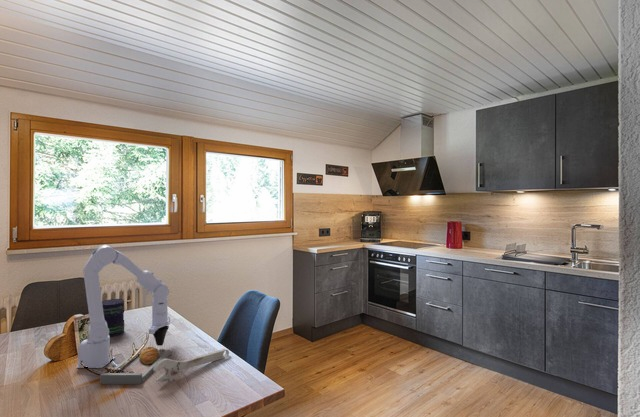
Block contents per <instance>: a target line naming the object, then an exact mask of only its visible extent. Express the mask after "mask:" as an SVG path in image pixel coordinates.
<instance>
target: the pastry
mask: <svg viewBox="0 0 640 417" xmlns="http://www.w3.org/2000/svg"><path fill="white" fill-rule="evenodd" d="M159 357H160V354H159V350H158V348H155V347H154V346H148V347H146V348H144V349H142V350H141V353H140V355H139V356H138V359H139V361H140V362H141V363H142V364H143V365H145V366H147V365H149V364H154V363H155V362H156V361H157V360H158V359H159Z"/></svg>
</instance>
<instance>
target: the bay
mask: <svg viewBox="0 0 640 417" xmlns="http://www.w3.org/2000/svg"><path fill="white" fill-rule="evenodd" d="M140 353H141V352H140ZM171 355H172V350H171V349H169V350H168V349H167V350H166V352H164V353H163V354H162V355H161V356H159V357H158V359H157V360H156V362H155V363H152V365H150V367H148V368H147V369H146V370H145V371H143V373H142V372H139V373H138V372H128V373H127V372H118V373H110V371H109V372H102V373H101V374H100V375H99V376H100V377H99V384H100V385H141V384H142V383H143V382H144V381H145V380H146V379H147V378H148V377H149V376H151V374H152V373H153V372H155V371H154V370H153V368H154V366H155V364H156V363H157V362H158V361H160V360H161V359H164V358H167V359H168V358H169V357H170V356H171ZM131 356H132V354H131V355H129V356H128V357H127V358H125V359H124V360H123V361H122V362H120V363H119V364H118V365H116V366H115V367H114V368H116V369H118V368H120V366H121V365H122V364H124V363H125V362H126V361H127V360H128V359H129V358H130V357H131ZM139 356H140V354H139Z"/></svg>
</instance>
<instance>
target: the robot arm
mask: <svg viewBox="0 0 640 417" xmlns="http://www.w3.org/2000/svg"><path fill="white" fill-rule="evenodd" d="M112 263H113V265H120V266H122V267H124V268H125V269H126V270H127V271H128V272H130V273H131V274H132V275H134V276H135V277H136V282H137V283H138V284H139V285H141V286H142V287H143V288H144V289H145V290H146V291H148V292H150V293H151V295H152V305H151V308H152V310H151V314H152V315H151V316H152V317H151V320H152V321H151V324H150V328H148V335H153V338H154V340H155V344H156V346H160V347H161V346H163V345H164V343H165V342H164V341H165V337H166V334H167V333H168V330H169V328H170V324H171V317H170V316H168V313H169V312H168V310H169V308H168V295H169V293H170V290H169V287H168V285H167V284H165V283H164V282H163V279H161V278H160V279H159V278H157V277H156V276H155V275H154V274H155V272H153V271H149V270H143V269H141V268H140V267H139V266H138V265H137V264H135V263H134V262H133V261H132V260H131V259H130V258H129V257H128V256H126V255H125V254H123V252H121V251H119V250H117V249H114V248H113V247H112V246H111V245H109V244H101V245H100V246H98V247H97V248H96V249H95V250H93V251H92V252H91V255H89V258H88V259H87V261H86V263H85V264H84V266H83V269H82V271H83V279H84V287H85V294H86V303H87V309H88V316H89V323H88V325H87V331H88V338H86V339H84V340H82V341H81V342H80V344H79V346H78V349H77V350H78V352H77V353H78V354H77V356H78V358H77V362H78V365H76V368H78V369H81V368H82V369H85V368H84V367H82V366H81V364H80V363H83V364H84V365H85V366H87V367H88V368H87V369H92V368H93V369H102V368H104V367H106V366H107V365H108V364H109V363H111V362H110V359H109V353H110V352H111V347H110V346H111V345H110V344H111V343H110V342H111V338H110V336H109V328H108V327H107V322H106V321H105V319H104V313H103V305H102V301H103V299H102V292H101V284H100V283H101V282H100V276H99V275H100V274H99V273H100V272H101V270H103V269H104V268H105V267H107V265H108V266H109V264H112ZM110 354H111V353H110ZM112 357H113V360H115V359H116V357H115V356H112Z"/></svg>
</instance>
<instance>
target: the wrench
mask: <svg viewBox="0 0 640 417" xmlns="http://www.w3.org/2000/svg"><path fill="white" fill-rule="evenodd" d="M229 353H230V352H229V349H226V348H222V349H219V350H216V351H213V352H212V351H211V352H208V353H205V354H202V355H198V356H195V357H191V358H188V359H184V360H174V359H170V358H168V357H167V358H164V359H161V360H160V361H158V362H157V363H156V364H155V366H154V368H153V370H154V371H153V372H158V371H159V370H161V369H162V368H164V372H163V373H162V374H160V375H159V376H157V377H156V378H155V379H156V381H157V382H158V383H159V382H160V383H164V382H168V381H169V382H170V383H171V382H173V381H174V380H175V378H176V377H177V376H178V375H179V374H180V373H182V372H183V371H185V370H188V369H191V368H195V367H199V366H202V365H205V364H208V363H212V362H215V361H218V360H222V359H225V358H227V357H228V356H229Z"/></svg>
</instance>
